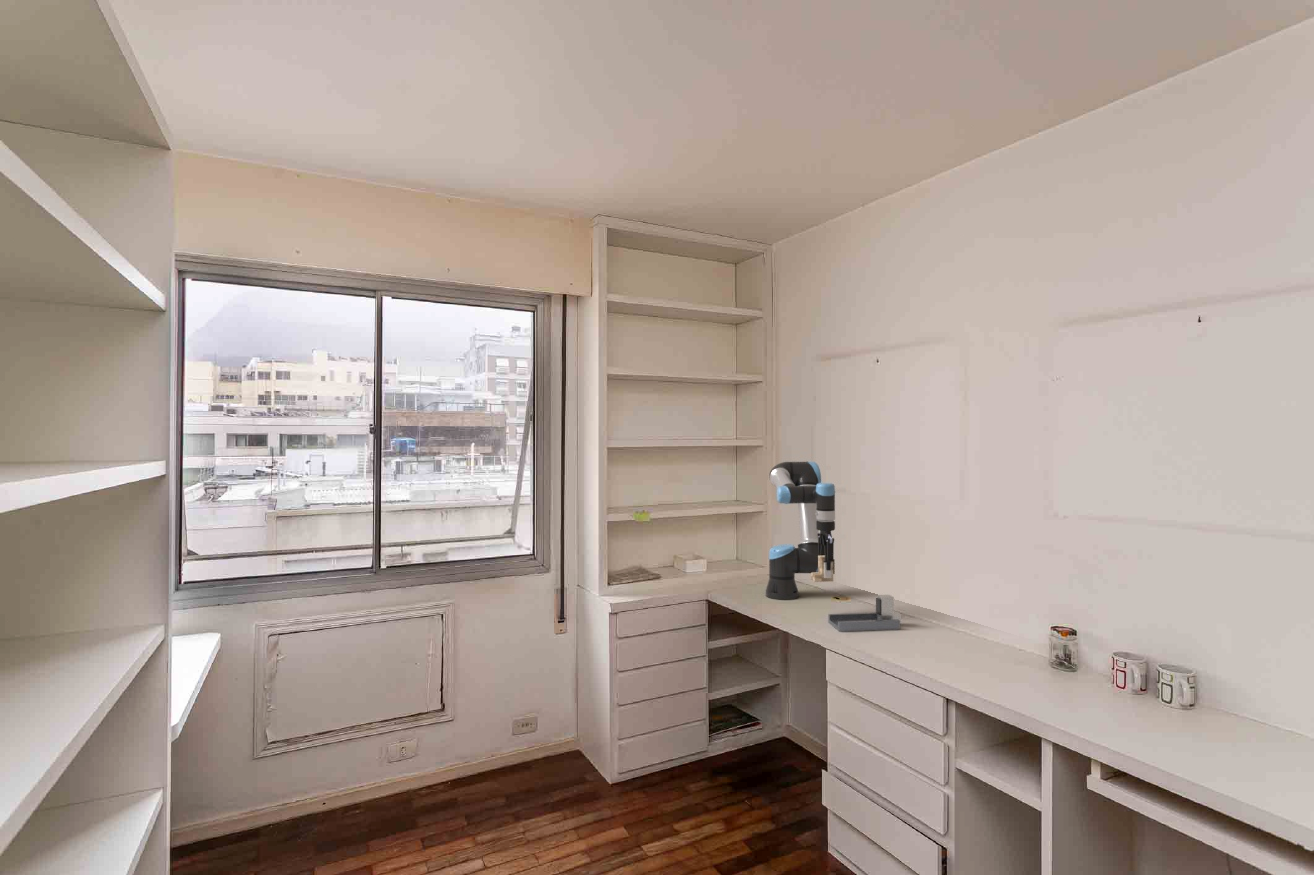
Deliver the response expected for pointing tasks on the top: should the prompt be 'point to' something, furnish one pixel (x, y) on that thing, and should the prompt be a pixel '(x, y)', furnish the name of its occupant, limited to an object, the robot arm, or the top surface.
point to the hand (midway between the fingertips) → (825, 576)
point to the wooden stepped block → (822, 571)
